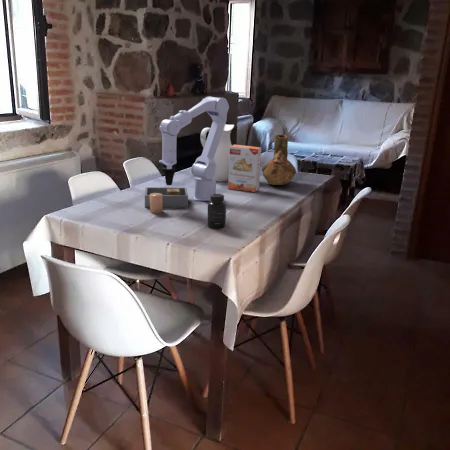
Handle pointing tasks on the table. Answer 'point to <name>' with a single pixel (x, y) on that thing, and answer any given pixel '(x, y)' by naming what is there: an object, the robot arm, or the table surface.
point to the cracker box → (244, 168)
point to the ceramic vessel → (279, 164)
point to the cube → (172, 191)
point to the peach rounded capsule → (156, 203)
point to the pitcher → (221, 153)
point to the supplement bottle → (216, 212)
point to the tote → (168, 197)
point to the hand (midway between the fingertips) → (169, 182)
